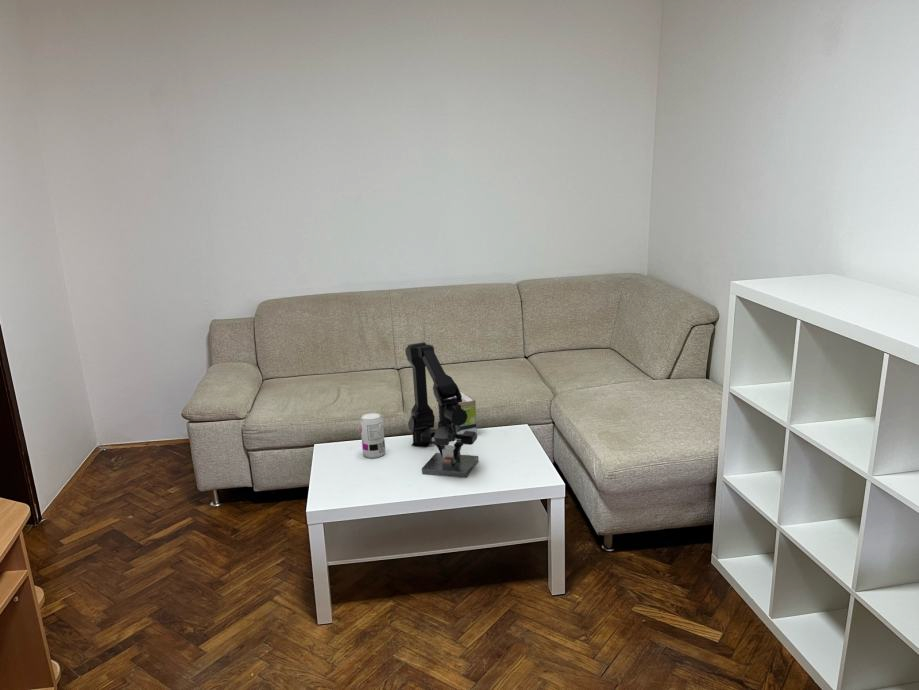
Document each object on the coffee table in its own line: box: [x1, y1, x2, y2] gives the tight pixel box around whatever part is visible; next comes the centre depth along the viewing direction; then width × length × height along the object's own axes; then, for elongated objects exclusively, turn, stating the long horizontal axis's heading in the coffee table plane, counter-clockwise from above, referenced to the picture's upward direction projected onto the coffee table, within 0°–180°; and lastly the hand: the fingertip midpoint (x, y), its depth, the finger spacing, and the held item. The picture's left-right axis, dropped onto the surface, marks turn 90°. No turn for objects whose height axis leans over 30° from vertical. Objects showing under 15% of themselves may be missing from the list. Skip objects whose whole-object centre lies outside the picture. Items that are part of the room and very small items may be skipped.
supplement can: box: [359, 412, 386, 459], centre depth 264 cm, size 8×8×15 cm
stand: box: [421, 452, 480, 479], centre depth 250 cm, size 16×14×4 cm
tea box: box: [448, 390, 478, 441], centre depth 281 cm, size 15×10×15 cm
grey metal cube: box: [442, 445, 458, 464], centre depth 249 cm, size 4×4×5 cm
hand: (450, 459), depth 249 cm, fingers closed on grey metal cube, 4 cm apart
